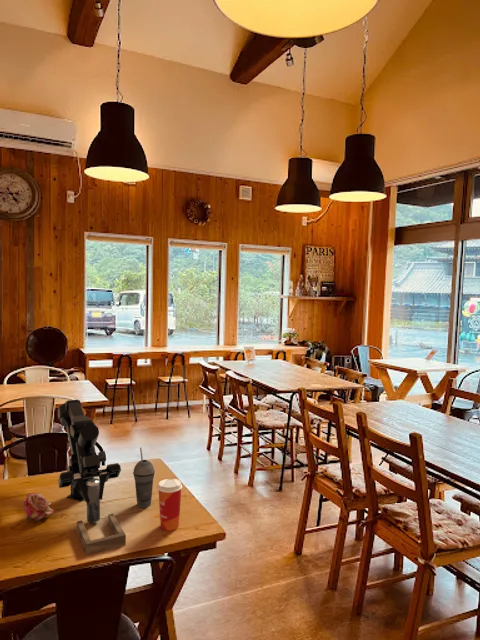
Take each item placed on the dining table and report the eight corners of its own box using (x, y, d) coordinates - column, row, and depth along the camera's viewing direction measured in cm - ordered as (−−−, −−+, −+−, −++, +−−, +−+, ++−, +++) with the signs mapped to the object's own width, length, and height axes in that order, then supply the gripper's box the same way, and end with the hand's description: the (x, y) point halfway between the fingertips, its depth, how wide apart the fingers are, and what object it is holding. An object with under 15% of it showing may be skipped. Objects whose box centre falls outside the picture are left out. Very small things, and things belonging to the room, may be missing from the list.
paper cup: (158, 520, 152) (158, 478, 151) (182, 520, 153) (182, 477, 152) (156, 533, 145) (156, 488, 144) (181, 532, 145) (181, 488, 144)
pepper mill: (84, 520, 149) (83, 482, 148) (93, 514, 153) (92, 477, 152) (93, 523, 148) (93, 484, 147) (102, 517, 151) (102, 479, 150)
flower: (15, 523, 146) (31, 502, 146) (14, 505, 154) (29, 485, 154) (43, 533, 151) (59, 512, 151) (40, 514, 159) (55, 495, 159)
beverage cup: (150, 511, 159) (149, 452, 157) (129, 508, 160) (129, 450, 159) (158, 501, 166) (158, 445, 164) (138, 499, 167) (138, 443, 166)
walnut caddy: (76, 530, 145) (76, 521, 145) (113, 522, 151) (113, 513, 151) (86, 554, 133) (86, 544, 133) (125, 544, 138) (125, 534, 138)
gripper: (59, 448, 147) (65, 497, 139) (119, 439, 156) (128, 484, 148) (55, 463, 155) (61, 511, 146) (113, 454, 164) (122, 498, 155)
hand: (94, 501), depth 149 cm, fingers closed on pepper mill, 4 cm apart
